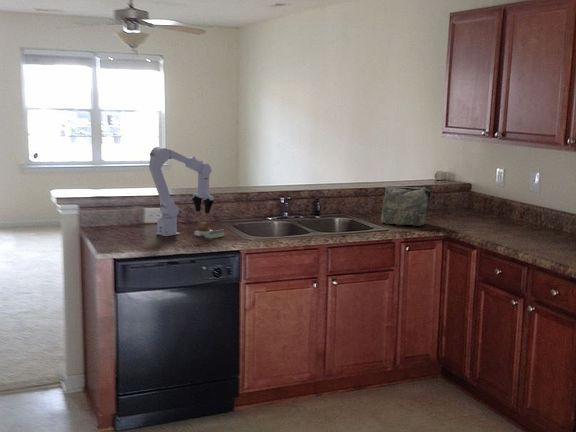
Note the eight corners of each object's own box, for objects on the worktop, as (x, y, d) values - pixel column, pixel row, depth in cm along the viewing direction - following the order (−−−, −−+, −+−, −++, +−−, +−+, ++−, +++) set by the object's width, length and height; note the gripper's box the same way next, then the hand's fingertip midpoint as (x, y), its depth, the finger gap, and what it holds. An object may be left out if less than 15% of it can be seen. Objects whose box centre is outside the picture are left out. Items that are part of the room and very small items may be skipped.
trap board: (210, 238, 329) (210, 231, 328) (194, 235, 337) (194, 228, 336) (223, 236, 336) (223, 229, 335) (207, 232, 343) (208, 226, 343)
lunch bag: (430, 223, 389) (432, 186, 386) (423, 228, 373) (426, 189, 369) (386, 219, 399) (388, 183, 395) (378, 224, 382) (380, 186, 379)
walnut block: (203, 231, 336) (203, 223, 335) (198, 230, 338) (198, 222, 338) (209, 230, 339) (209, 223, 338) (204, 229, 341) (204, 221, 341)
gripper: (218, 187, 342) (217, 213, 344) (200, 184, 352) (199, 209, 354) (207, 188, 337) (206, 214, 339) (189, 185, 347) (189, 210, 349)
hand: (202, 212), depth 347 cm, fingers open, 7 cm apart
